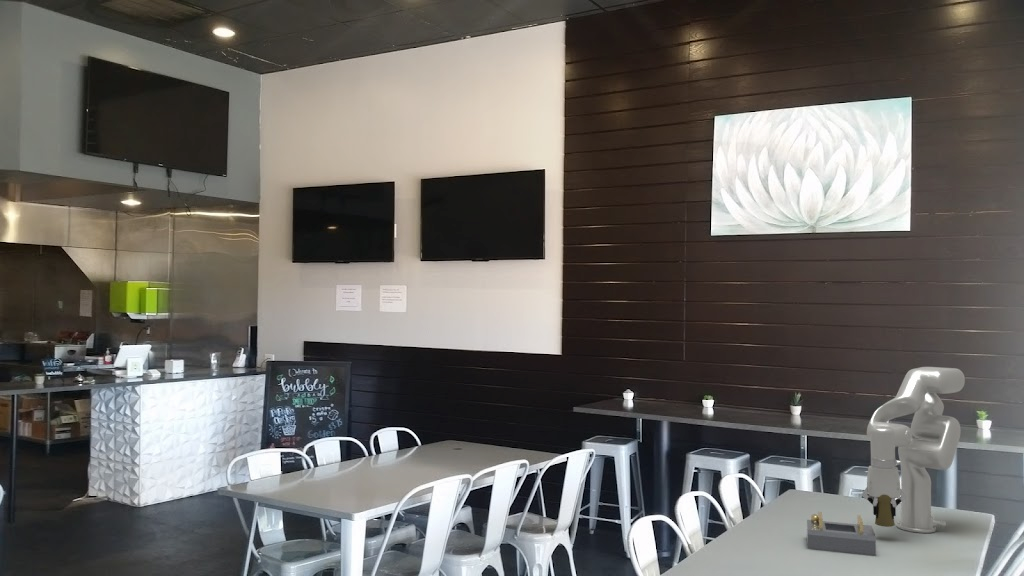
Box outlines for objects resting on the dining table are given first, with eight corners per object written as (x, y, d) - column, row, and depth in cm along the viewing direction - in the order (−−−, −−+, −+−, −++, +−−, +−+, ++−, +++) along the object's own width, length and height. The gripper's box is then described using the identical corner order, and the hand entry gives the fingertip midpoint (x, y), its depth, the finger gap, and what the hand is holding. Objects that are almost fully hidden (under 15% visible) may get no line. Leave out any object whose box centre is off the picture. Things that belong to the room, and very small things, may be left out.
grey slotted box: (871, 544, 265) (871, 514, 265) (875, 555, 252) (875, 525, 252) (806, 537, 271) (807, 509, 272) (807, 548, 258) (807, 518, 258)
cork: (896, 527, 268) (895, 494, 268) (877, 526, 269) (876, 493, 269) (892, 521, 274) (891, 489, 274) (873, 521, 275) (872, 489, 275)
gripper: (908, 462, 272) (910, 516, 272) (855, 460, 278) (856, 512, 278) (912, 467, 265) (913, 522, 265) (857, 464, 270) (858, 519, 270)
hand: (884, 517), depth 271 cm, fingers closed on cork, 4 cm apart
